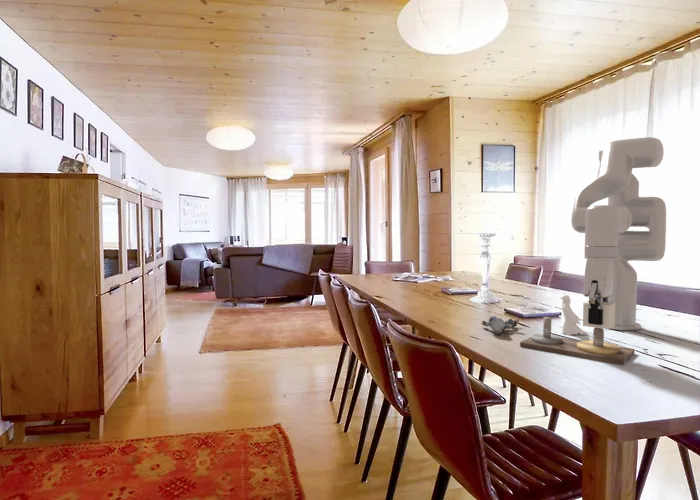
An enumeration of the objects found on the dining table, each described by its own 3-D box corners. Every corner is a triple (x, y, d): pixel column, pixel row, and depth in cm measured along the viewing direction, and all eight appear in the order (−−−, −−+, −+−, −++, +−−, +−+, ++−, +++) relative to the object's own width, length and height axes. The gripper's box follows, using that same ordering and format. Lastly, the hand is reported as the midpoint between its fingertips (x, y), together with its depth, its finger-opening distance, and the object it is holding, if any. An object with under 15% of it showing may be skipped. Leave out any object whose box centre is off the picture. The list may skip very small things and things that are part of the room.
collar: (589, 322, 122) (590, 300, 122) (614, 325, 118) (615, 302, 118) (582, 325, 118) (583, 302, 117) (608, 329, 114) (609, 305, 113)
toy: (522, 322, 148) (519, 325, 135) (493, 339, 151) (487, 343, 138) (510, 304, 150) (506, 305, 137) (481, 321, 153) (475, 324, 140)
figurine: (559, 329, 145) (560, 292, 144) (587, 332, 142) (588, 294, 141) (559, 335, 138) (560, 296, 138) (588, 337, 135) (589, 298, 134)
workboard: (537, 337, 135) (537, 312, 135) (634, 353, 118) (635, 324, 118) (520, 346, 126) (520, 319, 125) (622, 365, 109) (623, 333, 108)
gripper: (594, 251, 126) (592, 315, 127) (574, 254, 113) (573, 325, 114) (625, 252, 121) (622, 319, 121) (608, 255, 108) (606, 330, 109)
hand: (598, 321), depth 118 cm, fingers closed on collar, 6 cm apart
